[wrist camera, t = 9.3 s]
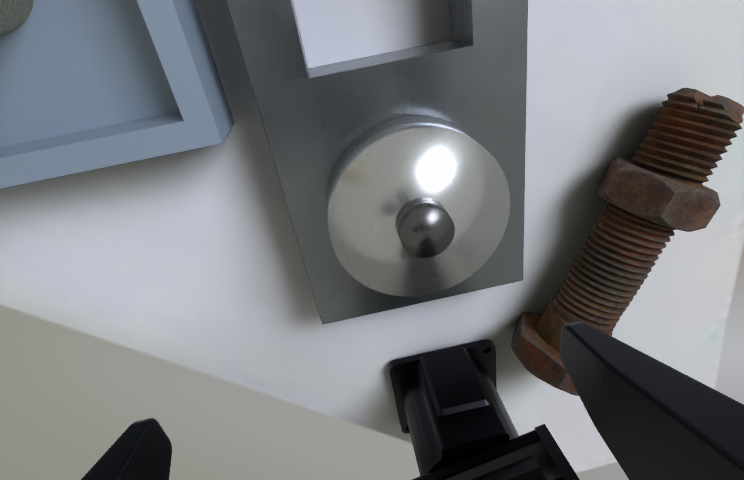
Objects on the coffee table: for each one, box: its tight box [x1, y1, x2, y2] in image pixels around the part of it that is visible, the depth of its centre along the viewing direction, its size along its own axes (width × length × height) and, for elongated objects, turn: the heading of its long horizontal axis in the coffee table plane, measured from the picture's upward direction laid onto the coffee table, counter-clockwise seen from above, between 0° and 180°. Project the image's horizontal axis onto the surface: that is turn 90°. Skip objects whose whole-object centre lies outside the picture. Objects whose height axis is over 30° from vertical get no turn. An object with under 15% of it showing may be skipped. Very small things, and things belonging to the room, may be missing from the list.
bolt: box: [511, 88, 744, 396], centre depth 21 cm, size 6×5×15 cm
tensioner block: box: [226, 0, 528, 325], centre depth 16 cm, size 18×10×6 cm, turn 10°
